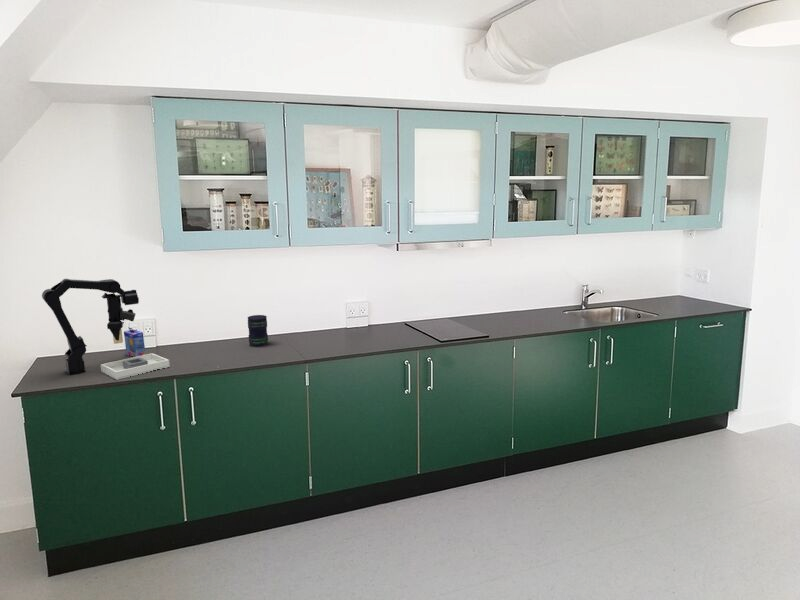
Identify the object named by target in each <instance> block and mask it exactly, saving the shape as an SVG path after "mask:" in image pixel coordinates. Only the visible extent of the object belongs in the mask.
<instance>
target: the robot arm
mask: <svg viewBox="0 0 800 600" xmlns="http://www.w3.org/2000/svg"><path fill="white" fill-rule="evenodd" d="M69 289H80V290H82V289H83V290H96V291H97V290H98V291H101V292H104V294H102V295H101V298H102V299H106V305H107V314H108V322H107V324H106V327H107V330H109V331H110V332H111V334H112V337H113V336H114V337H115V339H116V340H119V335H120V329H123V328H124V323H125V322H124V321H126V320H127V321H130V322H134V321H135V317H136V313H135V312H134V311H133V309H131V308H129V309H128V310H124V308H123V307H122V304H124V306H130V305H132V306H133V305H138V304H139V302H140V300H139V299H140V298H139V296H138V293H137V289H131V290H124V289H122V288H121V284H120V282H119V281H117V280H115V279H108V278H107V279H101V280H84V279H70V278H63V279H62V280H60V281H59V283H56V284H54V286H52V287H51V288H47V289H45V290H43V291H42V293H41V298H42V300H43V301H44V302H45V303H46V304H47V306H48V307H49V309H51V310H52V312H53V314H54V317H55V318H56V320H57V322H58V323H59V326H60V327H61V328H60V329H62V331H63V333H64V336H65V337H66V341H67V344H68V350H67V351H65V353H64V355H65V357H66V358H67V359H65V369H66V370H65V373H66V374H68V375H70V376H71V375H75V374H80V373H84V372H86V365H85V360H83V356H84V355H85V353H86V352H87V345H86V343H85V341H84V339H83V337H82V335H79V336H78V335H76V333H75V331H74V329H73V326H72V324H71V323H70V321H69V319H68V318H67V315H66V314H65V312H64V309H63V306H62V302H61V299H60V298H61V297H62V296H63V295H64V294H65V293H67V291H68V290H69ZM116 293H117V294H116Z"/></svg>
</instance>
